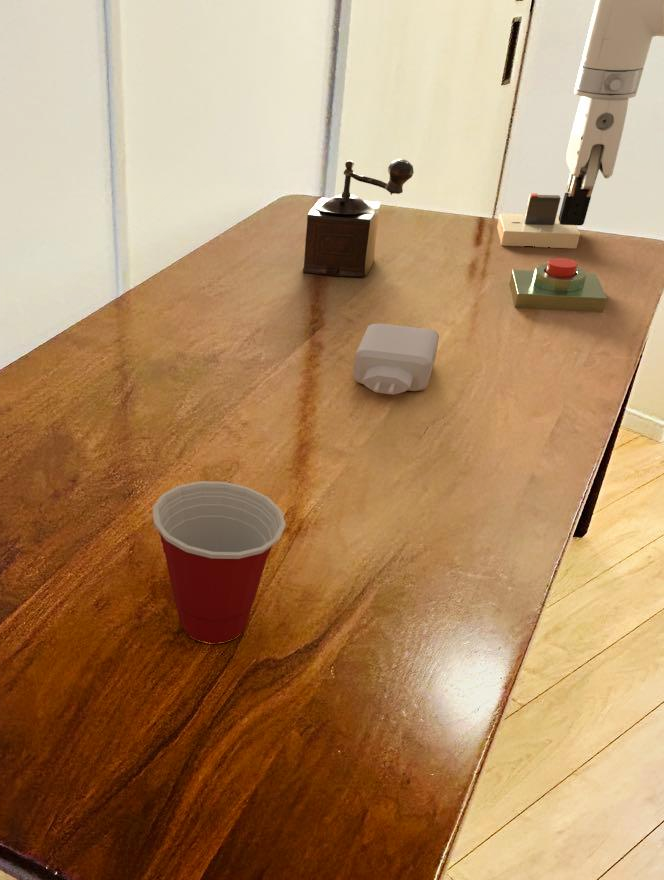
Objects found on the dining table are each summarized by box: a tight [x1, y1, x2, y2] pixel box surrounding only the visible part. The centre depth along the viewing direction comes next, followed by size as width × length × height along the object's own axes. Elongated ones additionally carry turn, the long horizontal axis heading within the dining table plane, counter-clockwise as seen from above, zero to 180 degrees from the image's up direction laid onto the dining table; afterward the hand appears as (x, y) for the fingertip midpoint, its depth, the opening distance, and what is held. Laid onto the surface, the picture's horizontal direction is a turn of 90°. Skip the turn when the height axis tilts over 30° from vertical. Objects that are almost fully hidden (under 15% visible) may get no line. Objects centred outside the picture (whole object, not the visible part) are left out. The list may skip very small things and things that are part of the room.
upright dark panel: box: [524, 192, 562, 225], centre depth 155 cm, size 5×2×5 cm, turn 76°
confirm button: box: [546, 257, 579, 277], centre depth 133 cm, size 4×4×2 cm
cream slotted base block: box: [496, 213, 581, 250], centre depth 157 cm, size 12×10×3 cm
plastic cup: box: [152, 480, 287, 643], centre depth 76 cm, size 11×11×12 cm
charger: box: [352, 322, 440, 395], centre depth 114 cm, size 5×9×15 cm
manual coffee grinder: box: [302, 158, 415, 278], centre depth 144 cm, size 16×11×18 cm
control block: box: [508, 263, 608, 314], centre depth 135 cm, size 12×10×4 cm
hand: (570, 223), depth 129 cm, fingers closed
